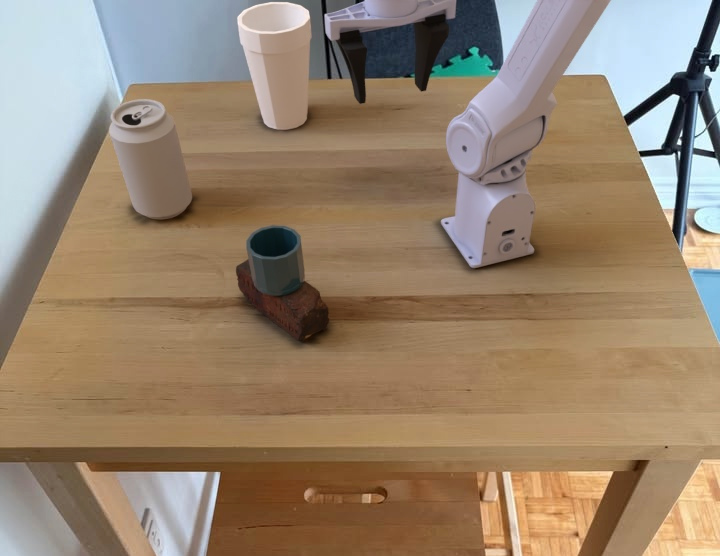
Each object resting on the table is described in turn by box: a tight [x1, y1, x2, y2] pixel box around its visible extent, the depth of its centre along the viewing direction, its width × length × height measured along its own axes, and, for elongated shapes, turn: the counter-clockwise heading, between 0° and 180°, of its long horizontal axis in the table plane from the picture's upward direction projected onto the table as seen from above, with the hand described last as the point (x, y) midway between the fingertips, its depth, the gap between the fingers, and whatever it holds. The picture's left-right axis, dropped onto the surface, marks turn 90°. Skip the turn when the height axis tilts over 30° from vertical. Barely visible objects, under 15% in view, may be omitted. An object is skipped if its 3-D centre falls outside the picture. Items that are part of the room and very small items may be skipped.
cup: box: [245, 224, 306, 296], centre depth 72 cm, size 5×6×4 cm
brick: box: [235, 259, 330, 342], centre depth 76 cm, size 11×4×5 cm, turn 44°
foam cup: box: [236, 1, 313, 131], centre depth 96 cm, size 10×9×13 cm
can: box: [108, 98, 193, 220], centre depth 85 cm, size 8×8×12 cm
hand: (390, 93), depth 84 cm, fingers open, 7 cm apart
